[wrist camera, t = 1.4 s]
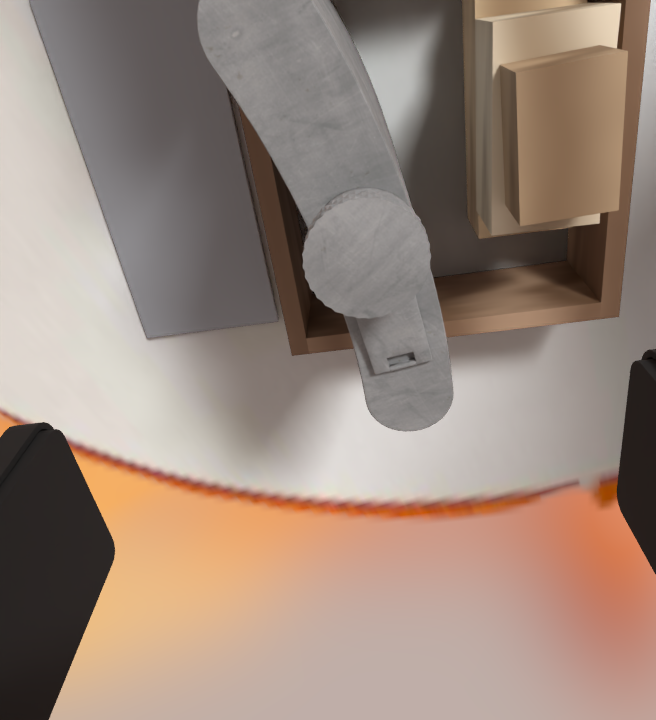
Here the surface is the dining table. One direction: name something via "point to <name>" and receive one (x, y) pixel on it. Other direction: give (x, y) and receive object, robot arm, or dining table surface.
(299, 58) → the hip flask
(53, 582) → the robot arm
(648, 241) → the dining table surface
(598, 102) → the offcut top
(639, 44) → the wooden tray
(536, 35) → the offcut mid
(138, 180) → the felt pad
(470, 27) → the offcut base
